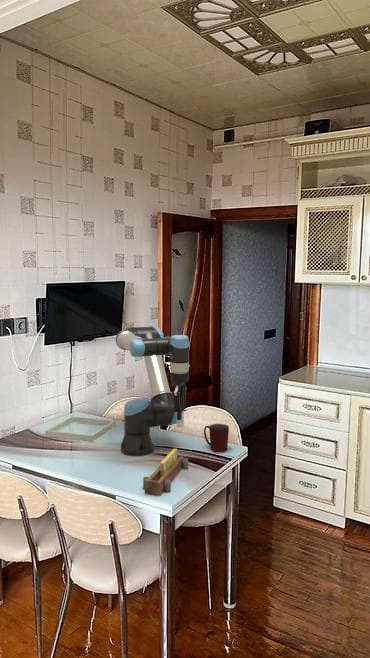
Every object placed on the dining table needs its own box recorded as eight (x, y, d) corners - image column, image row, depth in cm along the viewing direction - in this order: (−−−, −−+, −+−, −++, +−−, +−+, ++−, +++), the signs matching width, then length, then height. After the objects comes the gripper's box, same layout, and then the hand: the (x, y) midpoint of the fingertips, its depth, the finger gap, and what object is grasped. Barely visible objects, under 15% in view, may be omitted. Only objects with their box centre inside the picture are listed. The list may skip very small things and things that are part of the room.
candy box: (173, 467, 208) (173, 448, 207) (178, 467, 207) (178, 448, 206) (159, 482, 193) (159, 462, 192) (164, 483, 192) (164, 462, 191)
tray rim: (45, 436, 246) (45, 430, 246) (72, 421, 271) (72, 416, 270) (92, 441, 239) (92, 435, 238) (115, 426, 263) (115, 420, 263)
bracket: (138, 492, 183) (138, 479, 183) (164, 464, 210) (164, 453, 210) (166, 496, 180) (166, 483, 180) (188, 467, 207) (188, 456, 207)
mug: (199, 450, 228) (199, 426, 227) (208, 444, 235) (208, 421, 234) (223, 454, 222) (223, 430, 221) (231, 448, 230) (232, 425, 228)
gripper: (183, 375, 201) (183, 432, 204) (192, 369, 213) (192, 423, 216) (166, 374, 203) (166, 430, 206) (176, 368, 216) (176, 421, 218)
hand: (180, 426), depth 211 cm, fingers closed
